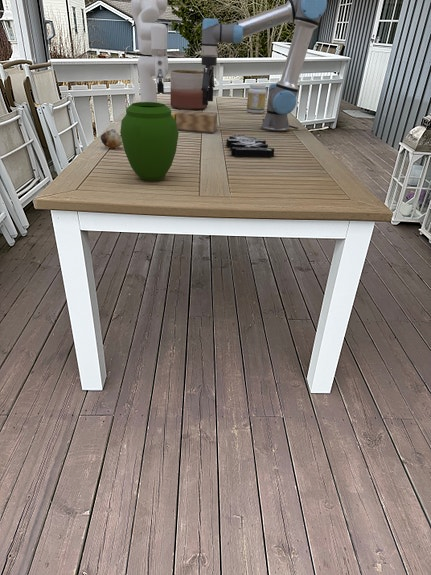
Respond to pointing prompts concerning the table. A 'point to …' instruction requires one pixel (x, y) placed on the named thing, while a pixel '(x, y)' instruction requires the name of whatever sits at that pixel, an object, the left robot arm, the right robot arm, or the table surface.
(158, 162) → the vase
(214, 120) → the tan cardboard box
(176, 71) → the planter
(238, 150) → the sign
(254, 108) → the supplement tub
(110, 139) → the seashell
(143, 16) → the left robot arm
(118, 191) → the table surface
